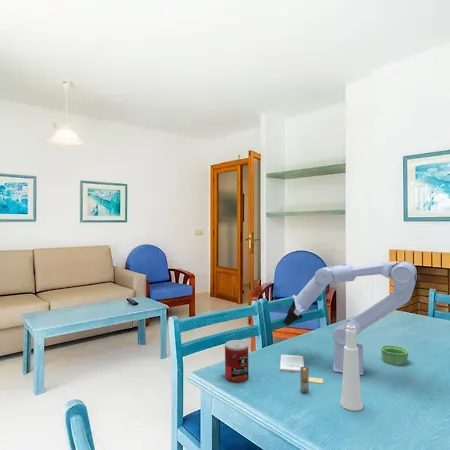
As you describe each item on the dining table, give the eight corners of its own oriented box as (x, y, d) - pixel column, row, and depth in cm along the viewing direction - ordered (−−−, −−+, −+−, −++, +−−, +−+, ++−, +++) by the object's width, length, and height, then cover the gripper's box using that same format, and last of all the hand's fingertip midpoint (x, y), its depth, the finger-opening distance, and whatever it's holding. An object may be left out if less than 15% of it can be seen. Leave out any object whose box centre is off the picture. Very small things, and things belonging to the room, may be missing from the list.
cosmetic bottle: (342, 397, 99) (342, 321, 99) (364, 402, 96) (364, 324, 96) (337, 407, 94) (337, 327, 94) (361, 413, 91) (360, 330, 91)
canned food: (232, 385, 107) (232, 350, 107) (220, 374, 115) (220, 342, 114) (253, 379, 111) (253, 345, 111) (240, 370, 118) (240, 338, 118)
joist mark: (323, 379, 111) (323, 378, 111) (322, 383, 108) (322, 383, 108) (307, 377, 112) (307, 376, 112) (306, 381, 109) (306, 380, 109)
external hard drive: (303, 360, 127) (304, 375, 115) (280, 358, 129) (279, 373, 117) (303, 355, 127) (304, 370, 115) (280, 354, 129) (279, 368, 117)
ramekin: (411, 360, 125) (411, 348, 125) (404, 368, 118) (404, 356, 118) (385, 354, 131) (385, 342, 131) (377, 361, 124) (377, 349, 124)
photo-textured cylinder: (309, 390, 104) (308, 367, 104) (308, 393, 102) (308, 370, 101) (300, 388, 105) (300, 366, 104) (300, 392, 102) (300, 369, 102)
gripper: (303, 280, 132) (282, 304, 137) (297, 294, 119) (274, 320, 124) (318, 291, 131) (297, 316, 136) (313, 307, 118) (290, 333, 123)
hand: (287, 319), depth 130 cm, fingers open, 7 cm apart
